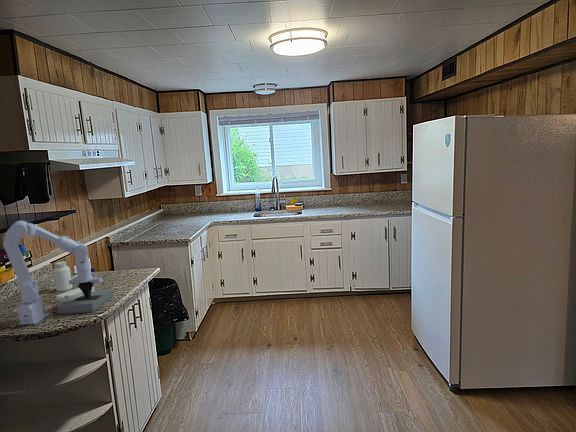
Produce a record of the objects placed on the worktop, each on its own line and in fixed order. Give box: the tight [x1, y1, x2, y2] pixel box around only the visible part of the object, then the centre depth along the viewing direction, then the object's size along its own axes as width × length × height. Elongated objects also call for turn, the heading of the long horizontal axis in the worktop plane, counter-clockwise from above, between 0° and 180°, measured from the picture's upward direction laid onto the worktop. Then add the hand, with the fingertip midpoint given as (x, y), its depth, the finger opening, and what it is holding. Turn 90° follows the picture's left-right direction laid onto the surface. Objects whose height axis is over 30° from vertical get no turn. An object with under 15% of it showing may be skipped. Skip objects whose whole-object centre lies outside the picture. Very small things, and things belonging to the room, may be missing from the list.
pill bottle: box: [52, 261, 74, 292], centre depth 211 cm, size 8×8×15 cm
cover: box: [55, 286, 96, 302], centre depth 188 cm, size 8×14×2 cm, turn 150°
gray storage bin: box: [56, 288, 114, 315], centre depth 186 cm, size 20×16×4 cm
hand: (88, 297), depth 182 cm, fingers closed
